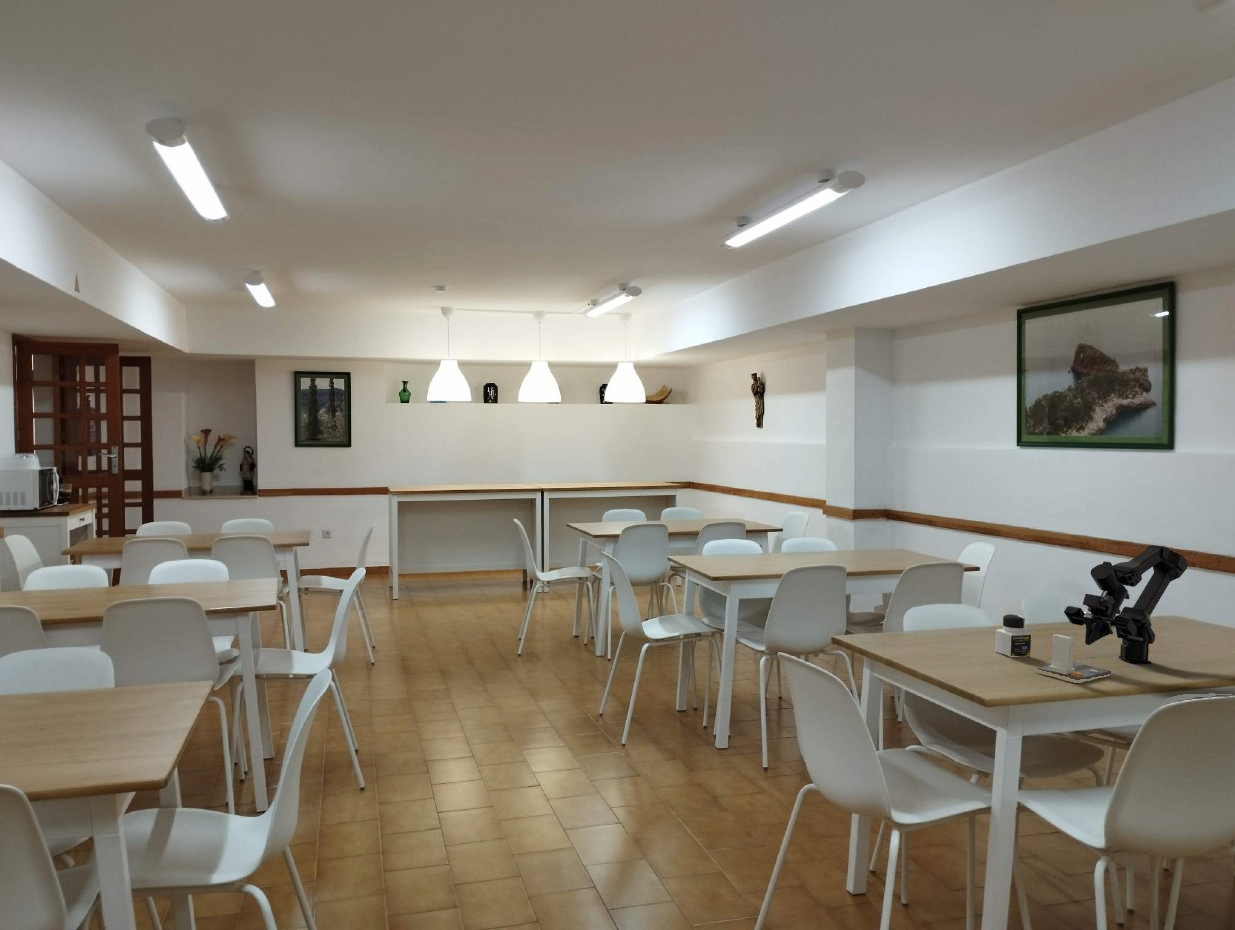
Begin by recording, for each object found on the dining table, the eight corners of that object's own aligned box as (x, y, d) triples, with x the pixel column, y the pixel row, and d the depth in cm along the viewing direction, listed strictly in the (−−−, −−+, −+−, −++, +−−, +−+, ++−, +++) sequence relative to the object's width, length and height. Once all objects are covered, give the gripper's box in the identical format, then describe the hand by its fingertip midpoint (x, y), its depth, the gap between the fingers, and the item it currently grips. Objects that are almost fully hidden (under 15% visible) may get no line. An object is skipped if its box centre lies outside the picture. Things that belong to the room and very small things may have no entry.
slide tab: (1057, 668, 250) (1058, 633, 249) (1074, 672, 245) (1076, 637, 245) (1048, 670, 248) (1049, 635, 247) (1066, 674, 243) (1067, 639, 243)
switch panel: (1069, 665, 259) (1070, 658, 259) (1110, 676, 249) (1111, 668, 249) (1036, 673, 251) (1036, 665, 250) (1077, 684, 240) (1077, 675, 240)
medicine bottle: (1010, 658, 267) (1012, 618, 266) (994, 652, 273) (996, 613, 273) (1030, 657, 268) (1032, 617, 268) (1014, 651, 275) (1015, 612, 275)
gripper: (1068, 578, 262) (1044, 620, 257) (1132, 589, 246) (1108, 633, 241) (1083, 602, 267) (1060, 643, 262) (1147, 613, 251) (1124, 658, 246)
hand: (1086, 643), depth 252 cm, fingers closed
